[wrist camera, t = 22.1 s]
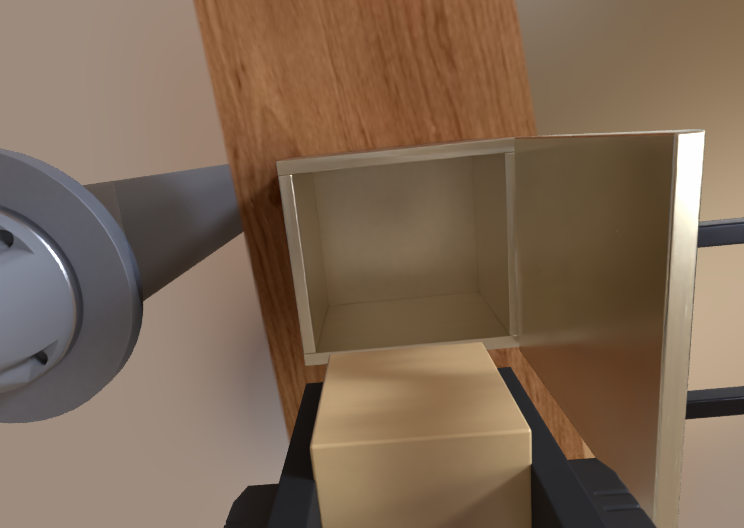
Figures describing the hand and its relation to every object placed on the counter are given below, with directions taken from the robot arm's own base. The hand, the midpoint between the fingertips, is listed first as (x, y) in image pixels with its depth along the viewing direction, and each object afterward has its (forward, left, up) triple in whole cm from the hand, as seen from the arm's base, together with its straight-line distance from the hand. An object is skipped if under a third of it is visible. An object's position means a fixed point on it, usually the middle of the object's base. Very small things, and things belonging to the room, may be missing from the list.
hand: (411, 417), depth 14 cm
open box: (+1, +1, -25) cm, 25 cm away
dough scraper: (+7, +1, -7) cm, 10 cm away
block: (0, 0, 0) cm, 0 cm away
